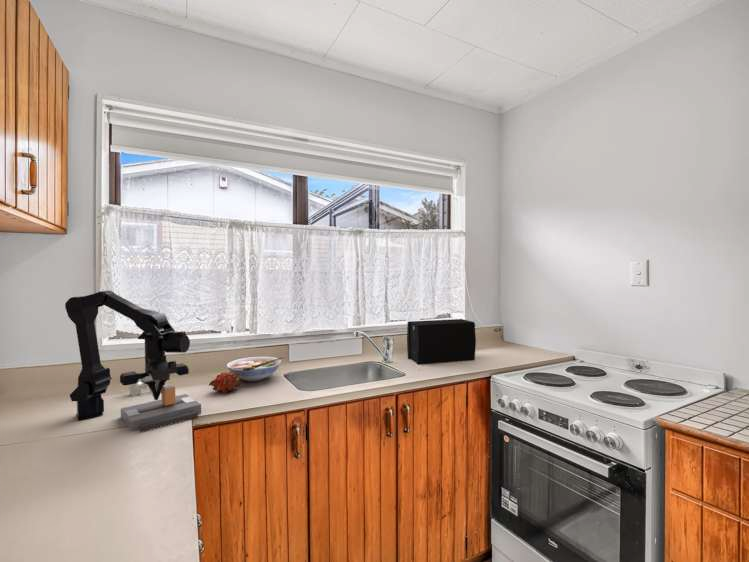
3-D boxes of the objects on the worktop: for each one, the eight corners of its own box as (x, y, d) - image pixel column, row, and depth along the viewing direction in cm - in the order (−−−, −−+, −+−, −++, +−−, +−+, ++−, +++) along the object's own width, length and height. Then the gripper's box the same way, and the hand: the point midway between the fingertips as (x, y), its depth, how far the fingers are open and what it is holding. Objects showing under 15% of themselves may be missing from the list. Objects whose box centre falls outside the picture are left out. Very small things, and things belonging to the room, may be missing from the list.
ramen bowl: (255, 369, 180) (254, 352, 179) (293, 374, 170) (293, 357, 170) (212, 383, 157) (212, 364, 157) (254, 391, 147) (253, 370, 147)
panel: (131, 431, 111) (130, 420, 110) (120, 417, 121) (120, 407, 121) (201, 413, 124) (201, 403, 124) (186, 402, 135) (186, 393, 135)
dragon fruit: (244, 394, 148) (211, 402, 145) (242, 377, 154) (211, 384, 151) (240, 381, 143) (207, 388, 139) (239, 364, 149) (207, 371, 146)
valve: (128, 398, 140) (165, 392, 147) (128, 380, 140) (164, 375, 147) (129, 393, 146) (164, 387, 152) (128, 376, 146) (163, 371, 152)
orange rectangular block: (165, 405, 122) (165, 388, 121) (161, 402, 125) (161, 385, 125) (175, 403, 124) (175, 386, 124) (171, 400, 127) (171, 383, 127)
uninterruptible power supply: (407, 358, 201) (406, 321, 200) (462, 353, 210) (462, 318, 210) (418, 365, 185) (418, 325, 185) (478, 360, 194) (478, 322, 194)
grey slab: (141, 432, 110) (141, 426, 110) (126, 413, 124) (126, 409, 124) (197, 417, 121) (197, 412, 121) (178, 401, 136) (178, 397, 136)
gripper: (126, 361, 109) (127, 414, 109) (193, 351, 122) (194, 398, 122) (119, 355, 117) (120, 404, 117) (182, 346, 130) (183, 391, 130)
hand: (156, 399), depth 122 cm, fingers closed
